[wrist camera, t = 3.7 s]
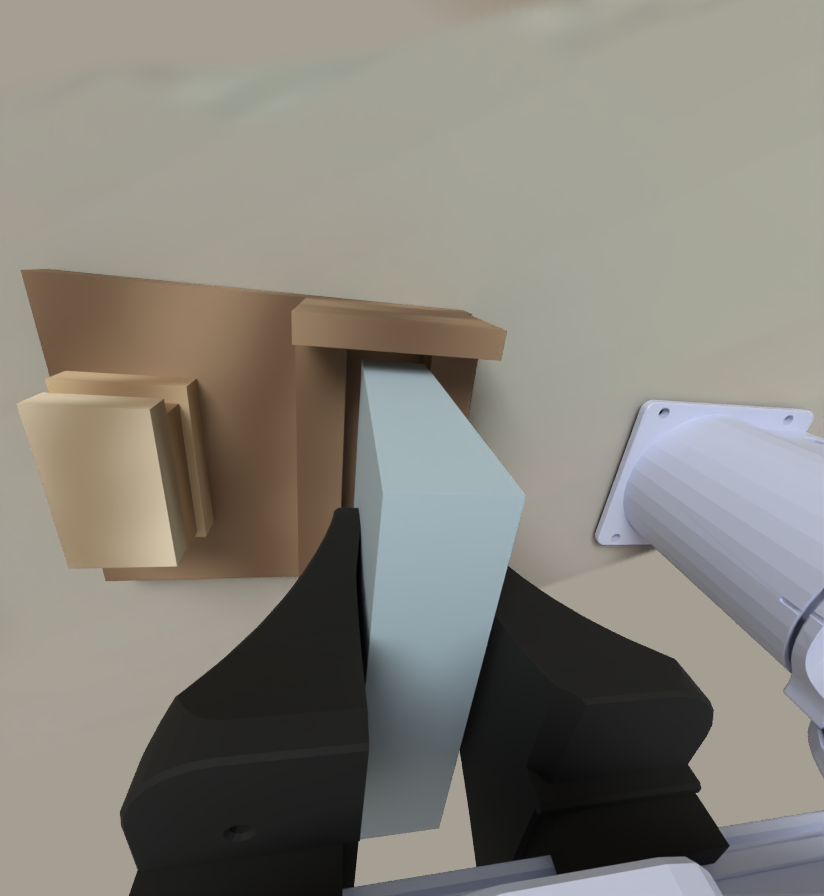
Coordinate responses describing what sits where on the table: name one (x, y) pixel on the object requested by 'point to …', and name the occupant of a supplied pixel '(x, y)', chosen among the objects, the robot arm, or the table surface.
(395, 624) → the tall sheet
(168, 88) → the table surface
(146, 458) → the offcut stack
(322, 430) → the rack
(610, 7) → the table surface
